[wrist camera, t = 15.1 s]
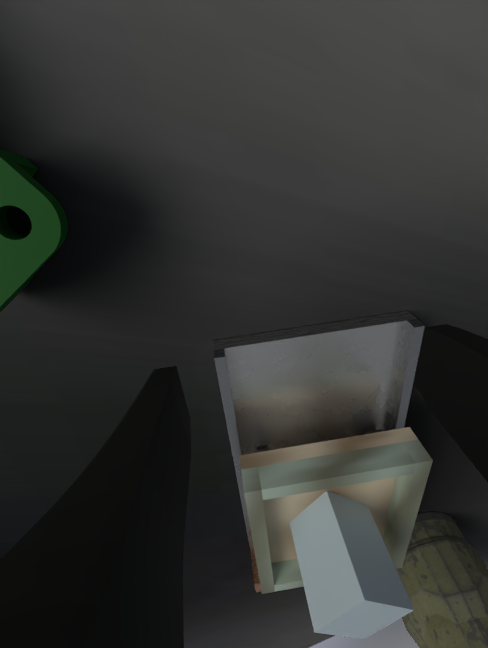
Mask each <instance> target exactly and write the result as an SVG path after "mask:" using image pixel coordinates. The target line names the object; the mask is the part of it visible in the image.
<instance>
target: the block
mask: <svg viewBox="0 0 488 648" xmlns="http://www.w3.org/2000/svg"><path fill="white" fill-rule="evenodd" d="M289 523H290V527H291V532H292V536H293V541H294V545H295V549H296V554H297V558H298V563H299V567H300V571H301V576H302V580H303V585H304V589H305V593H306V598H307V602H308V607H309V611H310V615H311V620H312V624H313V629H314V632H316V633H323V634H330V635H337V636H344V637H352V638H359V639H365V638H367V637H368V636H370V635H372V634H374V633H375V632H377V631H379V630H381V629H382V628H384V627H386V626H388V625H389V624H391V623H393V622H395V621H396V620H398V619H400V618H402V617H403V616H405V615H407V614H408V613H410V612H412V611H414V609H413V606H412V604H411V602H410V600H409V597H408V595H407V593H406V591H405V588H404V586H403V584H402V582H401V579H400V577H399V575H398V573H397V570H396V568H395V566H394V564H393V561H392V559H391V557H390V555H389V552H388V550H387V548H386V546H385V543H384V541H383V539H382V537H381V534H380V532H379V530H378V528H377V525H376V523H375V521H374V519H373V516H372V514H371V512H370V509H369V507H368V505H365V504H363V503H360V502H357V501H354V500H351V499H349V498H346V497H343V496H340V495H337V494H335V493H332V492H329V491H325V492H324V493H323V494H322V495H321V496H320V497H318V498H317V499H316V500H315V501H314V502H313V503H312V504H310V505H309V506H308V507H307V508H306V509H305V510H303V511H302V512H301V513H300V514H299V515H298V516H296V517H295V518H294V519H293V520H292V521H291V522H289Z"/></svg>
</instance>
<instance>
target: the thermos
mask: <svg viewBox="0 0 488 648" xmlns="http://www.w3.org/2000/svg"><path fill="white" fill-rule="evenodd" d="M396 570H397V573H398V575H399V577H400V579H401V582H402V584H403V586H404V588H405V591H406V593H407V595H408V597H409V600H410V602H411V604H412V606H413V609H414V611H412V612H410V613H408V614H407V615H405V616H403V617H402V619H403V622H404V624H405V627H406V629H407V631H408V632H409V634H410V635H411V636H412V638H413V639H414V640H415V642H416V643H417V645H418V646H419V647H420V648H488V569H487V567H486V565H485V564H484V562H483V561H482V559H481V558H480V556H479V555H478V553H477V552H476V550H475V549H474V547H473V546H472V545H471V544H470V543H469V542H467V541H466V539H465V538H464V536H463V535H462V533H461V531H460V530H459V528H458V525H457V524H456V522H455V521H454V520H453V518H452V517H451V516H450V515H447V514H444V513H441V512H426V513H420V514H417V517H416V521H415V524H414V528H413V531H412V534H411V538H410V541H409V545H408V548H407V552H406V555H405V559H404V562H403V566H402V568H398V569H396Z"/></svg>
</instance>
